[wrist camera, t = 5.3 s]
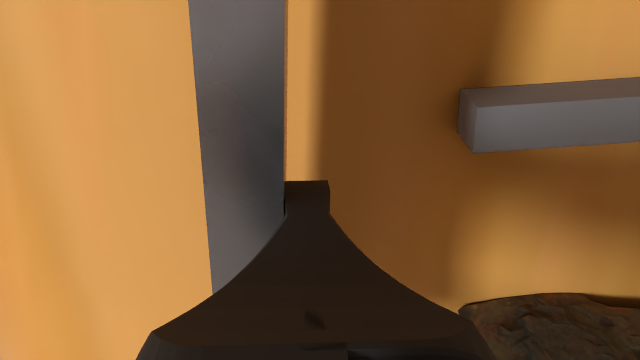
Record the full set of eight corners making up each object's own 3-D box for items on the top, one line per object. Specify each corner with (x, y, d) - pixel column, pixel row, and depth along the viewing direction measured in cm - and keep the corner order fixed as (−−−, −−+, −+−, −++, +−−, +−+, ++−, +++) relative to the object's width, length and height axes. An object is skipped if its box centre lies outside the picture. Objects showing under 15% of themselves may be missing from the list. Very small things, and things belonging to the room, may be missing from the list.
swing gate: (295, 294, 21) (295, 460, 14) (237, 294, 20) (212, 462, 14) (311, -437, 11) (336, -932, 4) (199, -447, 10) (60, -973, 4)
